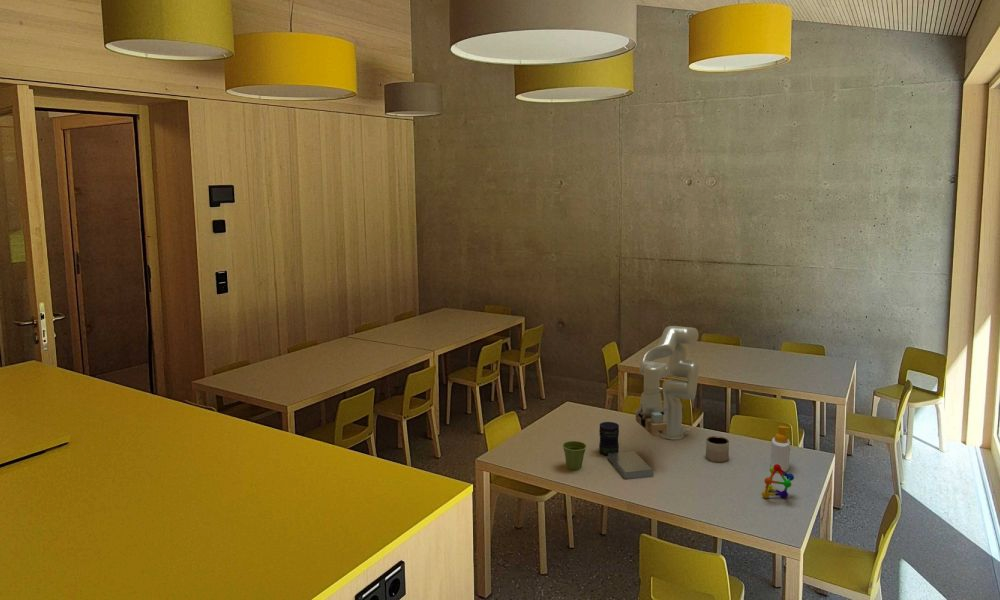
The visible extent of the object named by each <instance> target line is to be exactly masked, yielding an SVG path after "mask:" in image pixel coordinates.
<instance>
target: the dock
mask: <svg viewBox="0 0 1000 600" xmlns="http://www.w3.org/2000/svg"><path fill="white" fill-rule="evenodd" d="M607 460H608V461H609V462H610V464H612V466H613V467H614V468H615V469H616V471H617V472H618V473H619V475H620V476H621V477H622V478H623V479H624V480H629V479H630V480H631V479H641V478H650V477H654V469H653V468H651V466H650V465H649V464H648V463H647V462H646V461H645V460H644V459H643V458H642V456H640V455H639V454H638V453H637V452H636V451H635V450H629V451H618V452H616V453H608V457H607Z"/></svg>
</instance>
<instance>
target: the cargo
mask: <svg viewBox="0 0 1000 600" xmlns="http://www.w3.org/2000/svg"><path fill="white" fill-rule="evenodd" d="M662 420H663V416H662V414H661V413H660V412H654V413H651V421H652V422H653V423H662Z"/></svg>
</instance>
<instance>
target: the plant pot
mask: <svg viewBox="0 0 1000 600" xmlns="http://www.w3.org/2000/svg"><path fill="white" fill-rule="evenodd" d="M561 446H562V448H563V451H564V456H565V457H564V458H565V462H566V464H565V465H566V469H568V470H569V469H570V470H572V471H578V470H580V469H582V466H583V461H584V457H585V456H584V455H585V452H586V449H587V448H588V445H587V444H586V443H584V442H583V441H577V440H568V441H565V442H563V443H562V445H561Z"/></svg>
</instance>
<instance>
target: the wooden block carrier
mask: <svg viewBox="0 0 1000 600" xmlns="http://www.w3.org/2000/svg"><path fill="white" fill-rule="evenodd" d="M639 413H640V414H641V413H642V412H641V411H640V412H639ZM635 422H637V423H638V424H639V425H640V426H641V427H643V426H642V425H641V417H639V416H638V414H637V413H636V412H635ZM643 429H644V430H645V431H647V433H648V434H650V435H651V436H652V437H656V436H658V433H659V434H660V433H661V434H662V435H667V424H666V423H665V422H664V421H663V419H662V423H653V422H652V421H651V414H646V416H645V427H643Z"/></svg>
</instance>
